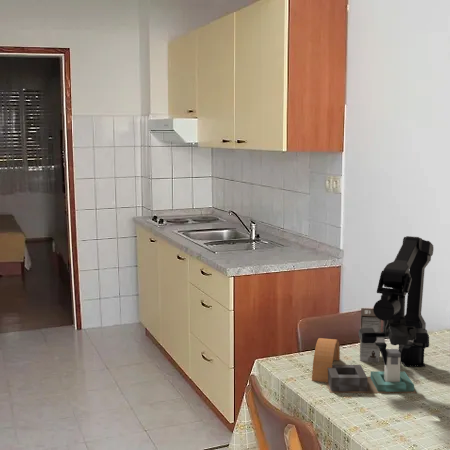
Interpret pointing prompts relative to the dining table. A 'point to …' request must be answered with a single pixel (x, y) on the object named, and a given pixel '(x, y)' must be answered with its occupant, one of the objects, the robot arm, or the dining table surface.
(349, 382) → the dock
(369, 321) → the coffee box
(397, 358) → the plug
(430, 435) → the dining table surface
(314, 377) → the arch
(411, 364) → the robot arm
